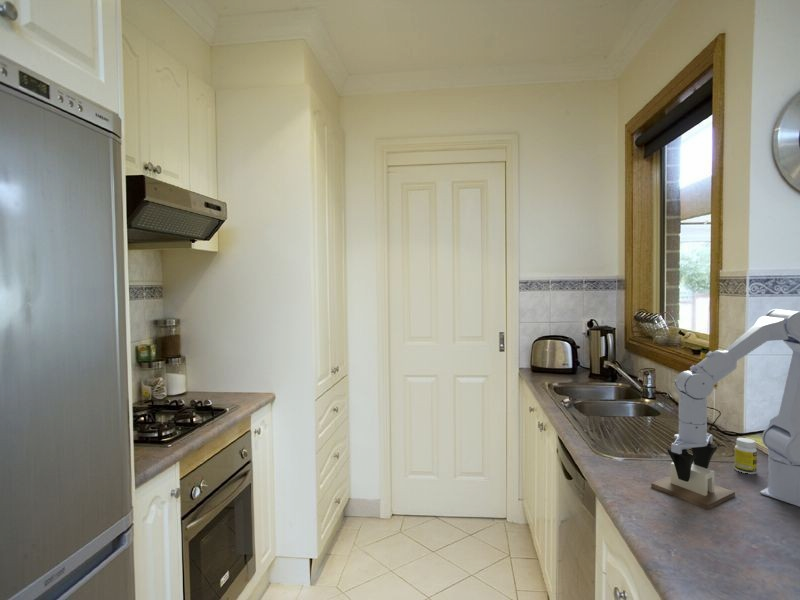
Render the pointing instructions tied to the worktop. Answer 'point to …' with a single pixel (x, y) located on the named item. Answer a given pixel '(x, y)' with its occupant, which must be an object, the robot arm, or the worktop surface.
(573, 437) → the worktop surface
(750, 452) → the supplement bottle
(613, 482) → the worktop surface
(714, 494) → the pin board
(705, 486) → the block
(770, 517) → the worktop surface
